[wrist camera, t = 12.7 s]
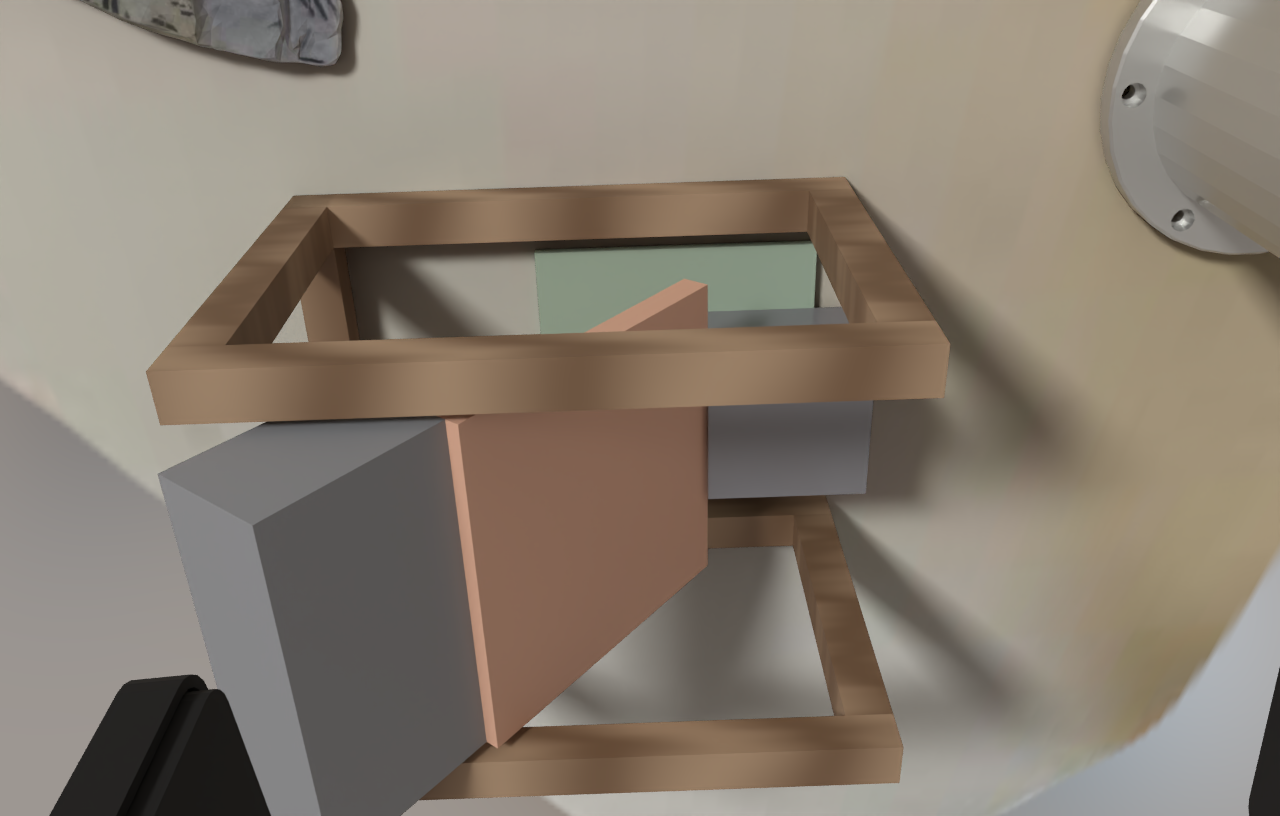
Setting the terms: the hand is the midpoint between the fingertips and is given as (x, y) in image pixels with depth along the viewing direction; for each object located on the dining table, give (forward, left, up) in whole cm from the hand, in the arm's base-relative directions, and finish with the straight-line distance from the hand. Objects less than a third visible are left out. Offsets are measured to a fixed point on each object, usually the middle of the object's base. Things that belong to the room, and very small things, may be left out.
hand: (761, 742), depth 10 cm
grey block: (-2, +13, -31) cm, 33 cm away
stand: (+3, +13, -34) cm, 36 cm away
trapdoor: (+8, +13, -24) cm, 28 cm away
